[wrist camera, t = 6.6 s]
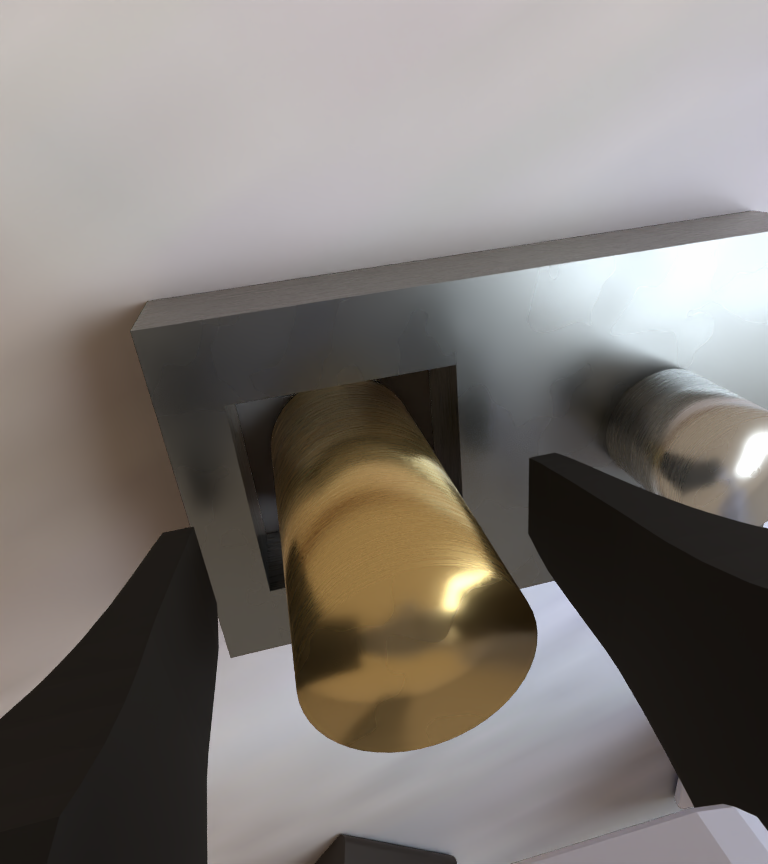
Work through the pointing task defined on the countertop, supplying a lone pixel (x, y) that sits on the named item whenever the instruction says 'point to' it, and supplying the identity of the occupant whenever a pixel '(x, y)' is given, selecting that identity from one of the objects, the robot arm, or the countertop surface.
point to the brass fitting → (388, 578)
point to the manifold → (482, 382)
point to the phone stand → (378, 853)
